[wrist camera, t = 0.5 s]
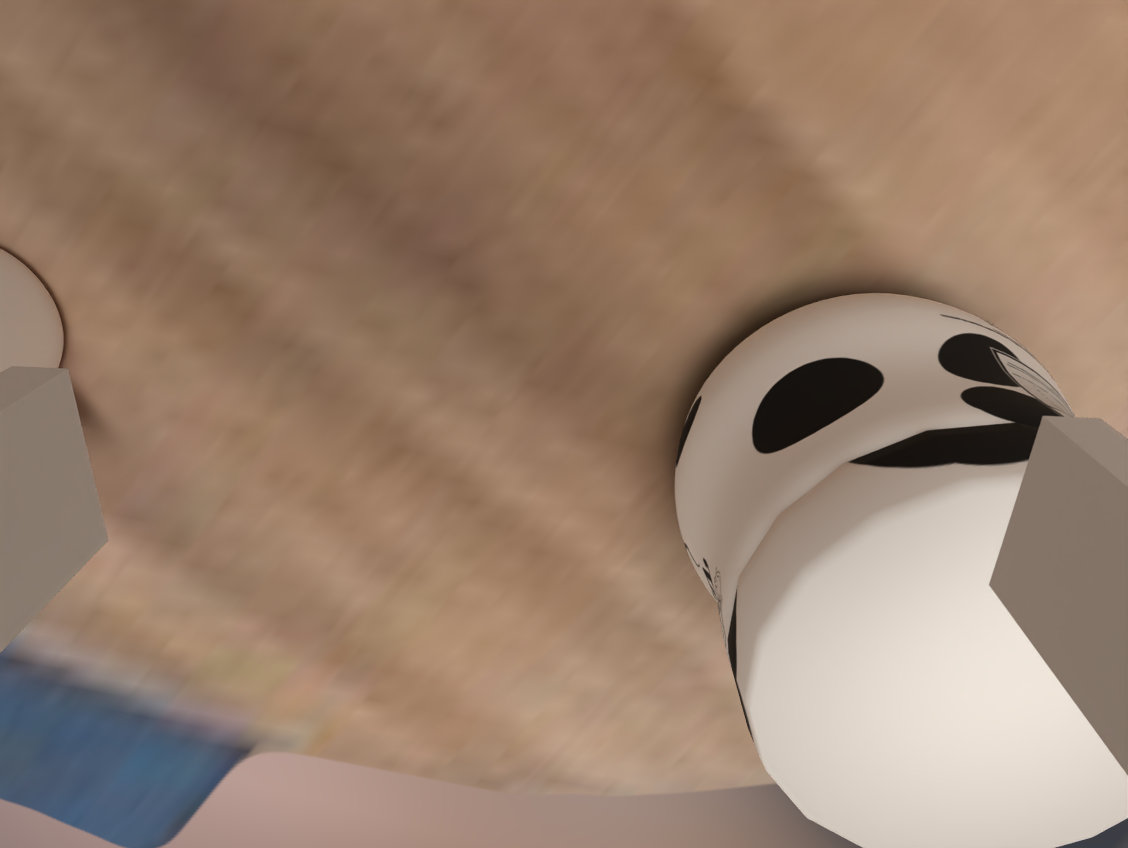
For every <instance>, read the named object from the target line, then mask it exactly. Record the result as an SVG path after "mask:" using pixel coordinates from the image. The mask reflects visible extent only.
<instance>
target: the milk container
mask: <svg viewBox="0 0 1128 848" xmlns="http://www.w3.org/2000/svg"><path fill="white" fill-rule="evenodd" d="M1043 416H1058V417H1075V415H1074V413H1073V411H1072V409H1071V407H1070V405H1069V403H1068V402H1067V400H1066V398H1065V397H1064V395H1063V393H1062V392H1061V390H1060V389H1059V387H1058V385H1057V384H1056V382H1055V380H1054V379H1053V378H1052V377H1051V375H1050V374H1049V373H1048V371H1047V370H1046V369H1045V368H1044V367H1043V366H1042V365H1041V364H1040V363H1039V362H1038V361H1037V359H1036V358H1035V357H1034V356H1033V355H1032V354H1031V353H1030V352H1029V351H1028V350H1027V349H1026V348H1024V347H1023V346H1022V345H1021V344H1019V343H1018V342H1017V341H1016V340H1015V339H1013V338H1012V337H1010V336H1009V335H1007V334H1006V333H1004V332H1003V331H1001V330H1000V329H998V328H997V327H995V326H994V325H992V324H990V323H988V322H987V321H985V320H983V319H981V318H979V317H977V316H975V315H972V314H970V313H968V312H965V311H963V310H960V309H958V308H955V307H953V306H949V305H946V304H943V303H939V302H936V301H932V300H928V299H923V298H918V297H913V296H908V295H900V294H890V293H864V294H853V295H846V296H839V297H834V298H830V299H826V300H822V301H818V302H815V303H812V304H809V305H806V306H803V307H801V308H798V309H796V310H793V311H791V312H789V313H787V314H785V315H783V316H781V317H779V318H777V319H775V320H773V321H771V322H770V323H768V324H766V325H765V326H763V327H761V328H760V329H758V330H757V331H756V332H754V333H753V334H751V335H750V336H749V337H747V338H746V339H745V340H744V341H742V342H741V343H740V344H739V345H738V346H736V347H735V348H734V349H733V350H732V351H731V352H730V353H729V354H728V355H727V356H726V357H725V358H724V359H723V360H722V361H721V363H720V364H719V365H718V366H717V367H716V368H715V369H714V371H713V372H712V373H711V375H710V376H709V378H708V379H707V380H706V382H705V383H704V385H703V386H702V388H701V390H700V391H699V393H698V395H697V396H696V398H695V401H694V403H693V405H692V407H691V409H690V411H689V414H688V416H687V419H686V422H685V425H684V429H683V432H682V436H681V439H680V444H679V449H678V455H677V460H676V470H675V502H676V511H677V517H678V523H679V527H680V532H681V535H682V538H683V541H684V544H685V547H686V550H687V553H688V555H689V558H690V560H691V562H692V564H693V566H694V568H695V570H696V572H697V574H698V575H699V577H700V579H701V580H702V582H703V584H704V585H705V587H706V588H707V590H708V591H709V593H710V594H711V595H712V597H713V598H714V599H715V601H716V602H717V603H718V609H719V615H720V621H721V627H722V632H723V638H724V643H725V647H726V652H727V656H728V659H729V662H730V665H731V668H732V671H733V675H734V678H735V682H736V686H737V689H738V693H739V697H740V700H741V704H742V708H743V711H744V715H745V719H746V723H747V726H748V729H749V731H750V734H751V737H752V739H753V742H754V745H755V747H756V750H757V753H758V755H759V757H760V759H761V761H762V763H763V765H764V767H765V769H766V771H767V772H768V773H769V775H770V776H771V777H772V778H773V779H774V780H775V781H776V783H777V784H778V785H779V786H780V787H781V788H782V790H783V791H784V792H785V793H786V794H787V795H788V796H789V798H790V799H791V800H792V801H793V802H794V803H795V804H796V806H797V807H798V808H799V809H800V810H801V812H802V813H803V814H804V815H805V816H806V817H807V818H808V819H810V820H813V821H814V822H816V823H818V824H820V825H821V826H823V827H825V828H827V829H829V830H831V831H833V832H835V833H837V834H838V835H840V836H842V837H844V838H846V839H848V840H850V841H852V842H853V843H856V844H857V845H859V846H861V847H863V848H1054V847H1058V846H1062V845H1066V844H1069V843H1073V842H1076V841H1080V840H1084V839H1087V838H1090V837H1093V836H1095V835H1097V834H1099V833H1101V832H1102V831H1104V830H1106V829H1108V828H1110V827H1112V826H1113V825H1115V824H1117V823H1119V822H1121V821H1123V820H1125V819H1126V818H1128V775H1127V774H1126V773H1125V771H1124V770H1123V768H1122V767H1121V766H1120V764H1119V763H1118V762H1117V760H1116V759H1115V757H1114V756H1113V755H1112V753H1111V752H1110V751H1109V749H1108V748H1107V746H1106V745H1105V744H1104V742H1103V741H1102V740H1101V738H1100V737H1099V735H1098V734H1097V733H1096V731H1095V730H1094V729H1093V727H1092V726H1091V725H1090V723H1089V722H1088V720H1087V719H1086V718H1085V716H1084V715H1083V714H1082V712H1081V711H1080V709H1079V708H1078V707H1077V705H1076V704H1075V703H1074V701H1073V700H1072V698H1071V697H1070V696H1069V694H1068V693H1067V692H1066V690H1065V689H1064V687H1063V686H1062V685H1061V683H1060V682H1059V681H1058V679H1057V678H1056V676H1055V675H1054V674H1053V672H1052V671H1051V670H1050V668H1049V667H1048V665H1047V664H1046V663H1045V661H1044V660H1043V659H1042V657H1041V656H1040V654H1039V653H1038V652H1037V650H1036V649H1035V648H1034V646H1033V645H1032V643H1031V642H1030V641H1029V639H1028V638H1027V637H1026V635H1025V634H1024V632H1023V631H1022V630H1021V628H1020V627H1019V626H1018V624H1017V623H1016V621H1015V620H1014V619H1013V617H1012V616H1011V615H1010V613H1009V612H1008V610H1007V609H1006V608H1005V606H1004V605H1003V604H1002V602H1001V601H1000V600H999V598H998V597H997V595H996V594H995V593H994V591H993V590H992V589H991V587H990V586H989V583H990V580H991V577H992V573H993V570H994V567H995V564H996V561H997V558H998V555H999V551H1000V548H1001V545H1002V542H1003V539H1004V536H1005V533H1006V530H1007V526H1008V523H1009V520H1010V517H1011V514H1012V511H1013V508H1014V504H1015V501H1016V498H1017V495H1018V492H1019V489H1020V486H1021V482H1022V479H1023V476H1024V473H1025V470H1026V467H1027V464H1028V461H1029V457H1030V454H1031V451H1032V448H1033V445H1034V442H1035V439H1036V435H1037V432H1038V429H1039V426H1040V423H1041V420H1042V417H1043Z"/></svg>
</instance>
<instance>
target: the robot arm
mask: <svg viewBox="0 0 1128 848" xmlns="http://www.w3.org/2000/svg"><path fill="white" fill-rule="evenodd" d="M107 541H108V536H107V532H106V528H105V523H104V519H103V515H102V511H101V506H100V502H99V498H98V494H97V490H96V485H95V481H94V477H93V473H92V468H91V464H90V460H89V456H88V451H87V447H86V443H85V439H84V434H83V430H82V426H81V422H80V417H79V413H78V409H77V405H76V400H75V396H74V392H73V388H72V383H71V379H70V375H69V371H68V369H65V368H44V367H23V366H11V367H9V368H7V369H6V370H4V371H2V372H0V652H1V651H2V650H3V649H4V648H5V647H6V646H7V645H8V644H9V643H10V642H11V641H12V640H13V639H14V638H15V637H16V636H17V635H18V634H19V633H20V632H21V631H22V630H23V629H24V627H25V626H26V625H27V624H28V623H29V622H30V621H31V620H32V619H33V618H34V617H35V616H36V615H37V614H38V613H39V612H40V611H41V610H42V609H43V608H44V607H45V606H46V605H47V604H48V603H49V602H50V601H51V599H52V598H53V597H54V596H55V595H56V594H57V593H58V592H59V591H60V590H61V589H62V588H63V587H64V586H65V585H66V584H67V583H68V582H69V581H70V580H71V579H72V578H73V577H74V576H75V575H76V574H77V572H78V571H79V570H80V569H81V568H82V567H83V566H84V565H85V564H86V563H87V562H88V561H89V560H90V559H91V558H92V557H93V556H94V555H95V554H96V553H97V552H98V551H99V550H100V549H101V548H102V547H103V546H104V544H105V543H106V542H107ZM989 586H990V587H991V589H992V590H993V591H994V593H995V594H996V595H997V597H998V598H999V600H1000V601H1001V602H1002V604H1003V605H1004V606H1005V608H1006V609H1007V610H1008V612H1009V613H1010V615H1011V616H1012V617H1013V619H1014V620H1015V621H1016V623H1017V624H1018V626H1019V627H1020V628H1021V630H1022V631H1023V632H1024V634H1025V635H1026V637H1027V638H1028V639H1029V641H1030V642H1031V643H1032V645H1033V646H1034V648H1035V649H1036V650H1037V652H1038V653H1039V654H1040V656H1041V657H1042V659H1043V660H1044V661H1045V663H1046V664H1047V665H1048V667H1049V668H1050V670H1051V671H1052V672H1053V674H1054V675H1055V676H1056V678H1057V679H1058V681H1059V682H1060V683H1061V685H1062V686H1063V687H1064V689H1065V690H1066V692H1067V693H1068V694H1069V696H1070V697H1071V698H1072V700H1073V701H1074V703H1075V704H1076V705H1077V707H1078V708H1079V709H1080V711H1081V712H1082V714H1083V715H1084V716H1085V718H1086V719H1087V720H1088V722H1089V723H1090V725H1091V726H1092V727H1093V729H1094V730H1095V731H1096V733H1097V734H1098V735H1099V737H1100V738H1101V740H1102V741H1103V742H1104V744H1105V745H1106V746H1107V748H1108V749H1109V751H1110V752H1111V753H1112V755H1113V756H1114V757H1115V759H1116V760H1117V762H1118V763H1119V764H1120V766H1121V767H1122V768H1123V770H1124V771H1125V773H1126V774H1127V775H1128V439H1127V438H1126V437H1124V436H1123V435H1122V434H1120V433H1119V432H1118V431H1116V430H1115V429H1114V428H1112V427H1111V426H1110V425H1108V424H1107V423H1106V422H1104V421H1103V420H1102V419H1099V418H1079V417H1058V416H1043V417H1042V420H1041V423H1040V426H1039V429H1038V432H1037V435H1036V439H1035V442H1034V445H1033V448H1032V451H1031V454H1030V457H1029V461H1028V464H1027V467H1026V470H1025V473H1024V476H1023V479H1022V482H1021V486H1020V489H1019V492H1018V495H1017V498H1016V501H1015V504H1014V508H1013V511H1012V514H1011V517H1010V520H1009V523H1008V526H1007V530H1006V533H1005V536H1004V539H1003V542H1002V545H1001V548H1000V551H999V555H998V558H997V561H996V564H995V567H994V570H993V573H992V577H991V580H990V583H989Z"/></svg>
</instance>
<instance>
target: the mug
mask: <svg viewBox="0 0 1128 848" xmlns="http://www.w3.org/2000/svg"><path fill="white" fill-rule="evenodd" d="M63 345H64V335H63V327H62V323H61V319H60V315H59V312H58V310H57V308H56V305H55V303H54V301H53V299H52V297H51V296H50V294H49V292H48V291H47V289H46V288H45V287H44V285H43V284H42V282H41V281H40V280H39V279H38V278H37V277H36V275H35V274H34V273H33V272H32V271H31V270H30V269H29V268H27V267H26V266H25V265H24V264H23V263H22V262H20V261H19V260H18V259H17V258H15V257H14V256H12V255H10V254H9V253H7V252H6V251H4V250H2V249H0V372H2V371H4V370H6V369H7V368H9V367H11V366H23V367H44V368H58V367H59V364H60V361H61V358H62V352H63Z"/></svg>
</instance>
